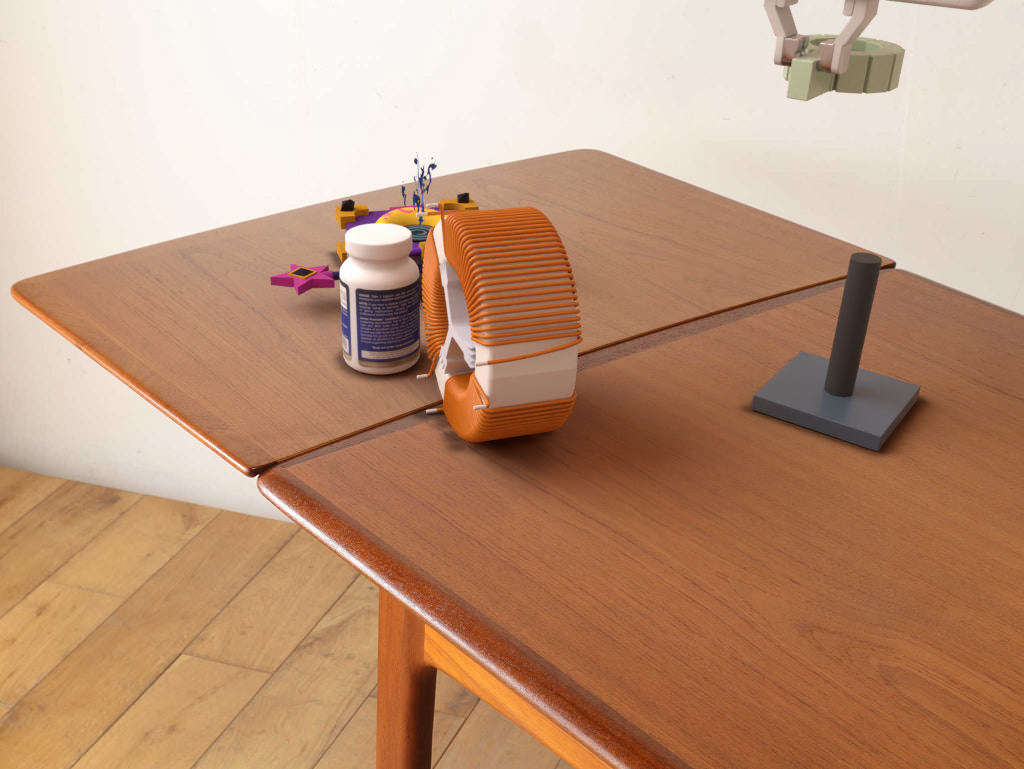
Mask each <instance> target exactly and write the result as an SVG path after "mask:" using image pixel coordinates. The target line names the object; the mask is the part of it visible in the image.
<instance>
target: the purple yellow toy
mask: <svg viewBox="0 0 1024 769" xmlns="http://www.w3.org/2000/svg"><path fill="white" fill-rule="evenodd" d="M415 153H416V154H417V155H416V157H414V159H413V163H414V165H416V167H418V166H420V163H419V162H420V161H419V153H418V152H417V151H416V152H415ZM424 159H427V158H426V157H425V158H424ZM431 160H434V157H433V156H432V157H431ZM437 167H438V165H437V164H436V161H434V162H433V163H429V164H428V167H427V172H426V174H425V164H423V165H422V166H420V169H417V176H416V175H414V177H413V181H414V182H415V185H416V186H417V187H416V188H415V191H416V192H415V191H413V194H412V205H407V194H406V193H405V191H406V186H404V185H401V196H402V198H403V205H401V206H389V208H388V209H387V210H383V209H382V210H372V211H371V210H369V207H368V206H367V204H366V203H365V204H355V203H356V201H355V200H353V199H351V198H350V199H345V200H342V201H341V205H335V206H334V216H335V217H334V218H335V221H336V222H337V225H338V226H339V228H340V230H344V234H345V235H346V232H347V231H348V230H350V229H351V228H354V227H356V226H360V225H365V224H373V223H386V224H395V225H400V226H403V227H405V228H407V229H409V230H410V231H411V233H412V251H411V252H410V254H409V257H410V258H411V259H412V260H413V261H414V262H415V263H416V264H417V266H418V269H419V277H420V297H421V298H422V297H423V294H422V291H423V289H422V285H423V283H422V279H423V278H422V274H423V272H422V269H423V259H424V250H425V245H426V240H427V237H428V233H429V230H430V228H431V227H433V226H436V225H437V224H438V223H439V221H440V220H441V215H434V216H420V217H416V213H421V212H435V211H440V209H439V207H432V208H427V207H425V205H424V193H425V192H426V194H427V195H428V194H429V189H430V185H431V184H432V173H431V171H434V170H435V169H436V168H437ZM430 169H431V171H430ZM420 171H421V173H420ZM427 176H428V177H429V183H428V185H426V184H425V183H424V181H427V180H428V177H427ZM416 179H417V180H416ZM402 183H404V180H402ZM419 190H420V191H421V192H420V194H421V197H420V195H419ZM456 195H457V196H456V197H450V198H440V199H439V203H440V204H441V205H442V206H443V209H444V211H450V210H480V208H479V205H478V204H477V203H476V202H475V201H474V200H473V199H472V198H471V196H470V192H463V193H459V194H456ZM435 200H436V198H435ZM447 216H448V215H444V217H447ZM345 235H344V236H345ZM336 253H337V255H338V258H339V259H340V261H341V263H342V264H343V263H344V262H345V261H346V260H347V259H348V258H350V255H349V254H348V253H347V252H346V250H345V240H344V241H336ZM289 265H290V266H289V268H290V271H287V272H283V273H280V274H279V273H278V274H276V275H272V276H270V277H269V278H270V279H269V280H270V285H271V286H276V287H283V288H285V287H286V288H293V289H294V290H295V292H296V294H297V296H301V295H302V294H305V293H306V292H308V291H310V290H312V289H335V287H336V283H335V281H340V270H337V271H336V270H335V271H333V270H330V267H329V264H326V265H319V266H311V267H306V266H302V265H298V264H294V263H289Z"/></svg>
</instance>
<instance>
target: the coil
mask: <svg viewBox="0 0 1024 769" xmlns="http://www.w3.org/2000/svg"><path fill="white" fill-rule="evenodd" d="M432 207H439V209H440V211H435V212H421V213H416V217H420V216H434V215H441V220H440V221H439V223H438V224H437V225H436V226H433V227H431V228H430V230H429V233H428V237H427V240H426V245H425V250H424V259H423V269H422V272H423V274H422V278H423V279H422V283H423V285H422V289H423V291H422V294H423V297H422V296H421V300H422V301H423V302H422V303H421V304H422V307H423V308H422V312H423V314H422V318H424V320H423V321H422V322H423V324H425V325H424V327H423V329H424V330H425V332H424V335H425V336H427V337H426V338H425V341H426V342H427V343H426V346H425V347H426V348H428V350H427V354H429V355H428V360H431V361H432V363H431V366H430V369H429V371H428V373H426V374H418V375H416V379H417V380H421V379H428V378H431V377H432V375H433V374H434V373H435V377H436V382H437V385H438V389H439V392H440V395H441V398H442V407H439V408H438V407H437V408H430V409H426V410H425V413H426V414H432V413H433V414H434V413H440V412H441V413H442V412H443V413H444V416H445V418H446V420H447V422H448V423H449V425H450V427H451V428H452V430H453V431H454V433H455V434H456V435H457V437H458V438H460V439H462V440H463V441H465V442H467V443H468V442H469V443H472V444H473V443H483V442H488V441H495V440H501V439H509V438H515V437H521V436H527V435H535V434H542V433H549V432H553V431H555V430H558V429H559V428H560V427H562V425H564V423H565V422H566V421H567V420H568V418H569V416H570V415H571V413H572V411H573V408H574V406H575V403H576V399H577V396H578V394H577V391H576V389H575V386H576V380H577V374H578V361H579V360H578V358H579V357H578V356H579V344H580V343H582V342H583V340H584V339H583V337H582V336H581V335H582V334H583V332H582V330H581V329H580V328H582V323H579V322H578V321H581V320H582V318H581V316H580V315H579V316H578V315H577V314H580V312H581V310H580V309H579V308H577V307H579V306H580V303H579V301H577V300H578V299H579V295H577V294H576V293H577V291H578V289H577V288H576V287H575V285H576V282H575V281H574V278H575V276H574V274H572V273H573V269H572V267H571V262H570V260H569V256H568V255H567V250H566V249H565V245H564V244H563V240H562V239H561V236H560V235H559V233H558V230H557V228H556V227H555V225H553V222H552V221H551V220H550V219H549V217H547V215H546V214H544V212H542V211H541V210H540V209H538V208H536V207H533V206H521V207H520V206H519V207H506V208H496V209H495V208H494V209H479V210H450V211H444V209H443V206H442V205H441V204H440V202H432V203H426V204H425V208H432ZM444 215H448V216H447V217H444Z"/></svg>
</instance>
